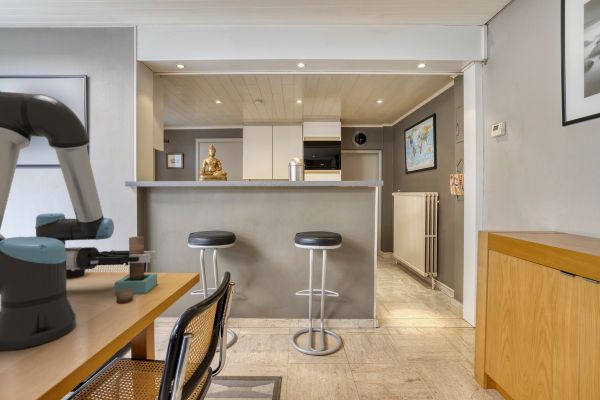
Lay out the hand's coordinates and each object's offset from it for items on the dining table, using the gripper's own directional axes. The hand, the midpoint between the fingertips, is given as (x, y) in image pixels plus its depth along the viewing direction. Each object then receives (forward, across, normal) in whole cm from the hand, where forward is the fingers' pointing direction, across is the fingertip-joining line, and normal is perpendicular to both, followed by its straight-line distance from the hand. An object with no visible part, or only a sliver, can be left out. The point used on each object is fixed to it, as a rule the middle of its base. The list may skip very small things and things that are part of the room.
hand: (152, 256), depth 101 cm
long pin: (-5, 0, -10) cm, 11 cm away
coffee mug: (-38, -18, -12) cm, 44 cm away
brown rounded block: (-4, +11, -12) cm, 16 cm away
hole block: (-5, 0, -12) cm, 13 cm away
